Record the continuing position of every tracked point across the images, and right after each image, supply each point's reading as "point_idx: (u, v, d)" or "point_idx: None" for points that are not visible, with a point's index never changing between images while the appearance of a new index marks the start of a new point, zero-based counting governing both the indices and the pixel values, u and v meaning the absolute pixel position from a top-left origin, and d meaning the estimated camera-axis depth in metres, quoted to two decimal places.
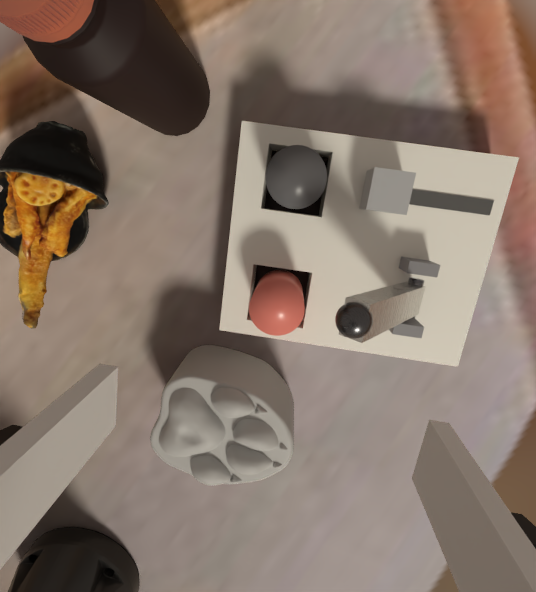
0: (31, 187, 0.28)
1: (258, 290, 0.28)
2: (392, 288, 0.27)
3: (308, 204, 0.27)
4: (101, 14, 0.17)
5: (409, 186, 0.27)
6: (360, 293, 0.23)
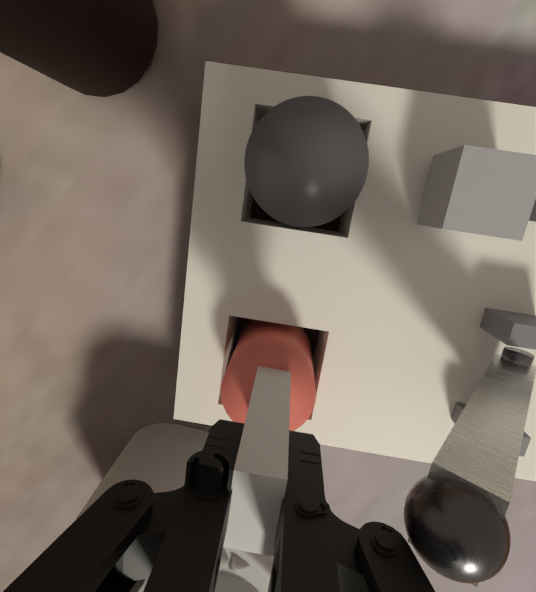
0: None
1: (236, 363, 0.16)
2: (494, 387, 0.13)
3: (329, 218, 0.13)
4: None
5: (532, 184, 0.13)
6: (453, 428, 0.10)
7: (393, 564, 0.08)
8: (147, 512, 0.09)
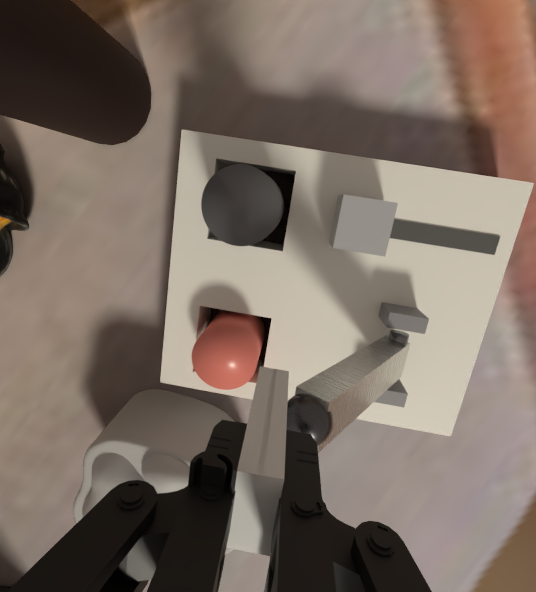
0: None
1: (202, 337, 0.24)
2: (366, 353, 0.20)
3: (256, 241, 0.20)
4: None
5: (389, 220, 0.20)
6: (320, 372, 0.17)
7: (389, 563, 0.08)
8: (151, 513, 0.09)
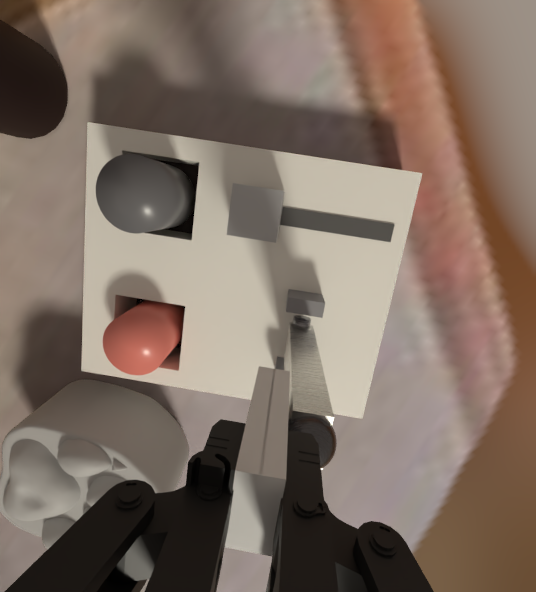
0: None
1: (111, 323, 0.25)
2: (299, 348, 0.20)
3: (151, 228, 0.21)
4: None
5: (277, 207, 0.21)
6: (292, 385, 0.16)
7: (391, 564, 0.08)
8: (148, 512, 0.09)
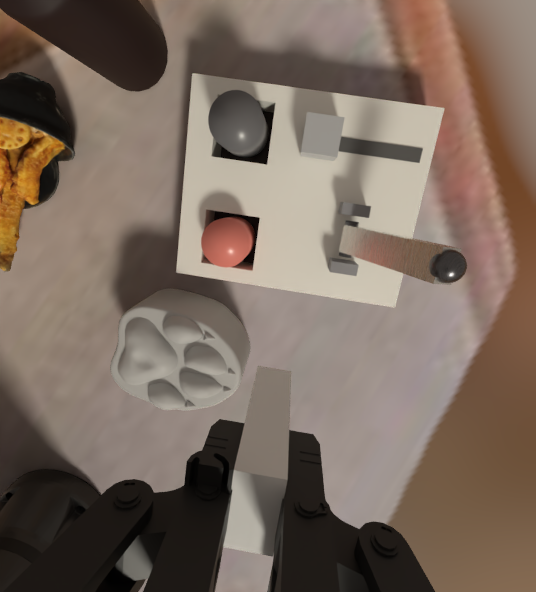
0: (0, 130, 0.31)
1: (208, 226, 0.33)
2: (381, 232, 0.29)
3: (247, 145, 0.29)
4: None
5: (339, 130, 0.29)
6: (419, 241, 0.25)
7: (393, 564, 0.08)
8: (147, 512, 0.09)
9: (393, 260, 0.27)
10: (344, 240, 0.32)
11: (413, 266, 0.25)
